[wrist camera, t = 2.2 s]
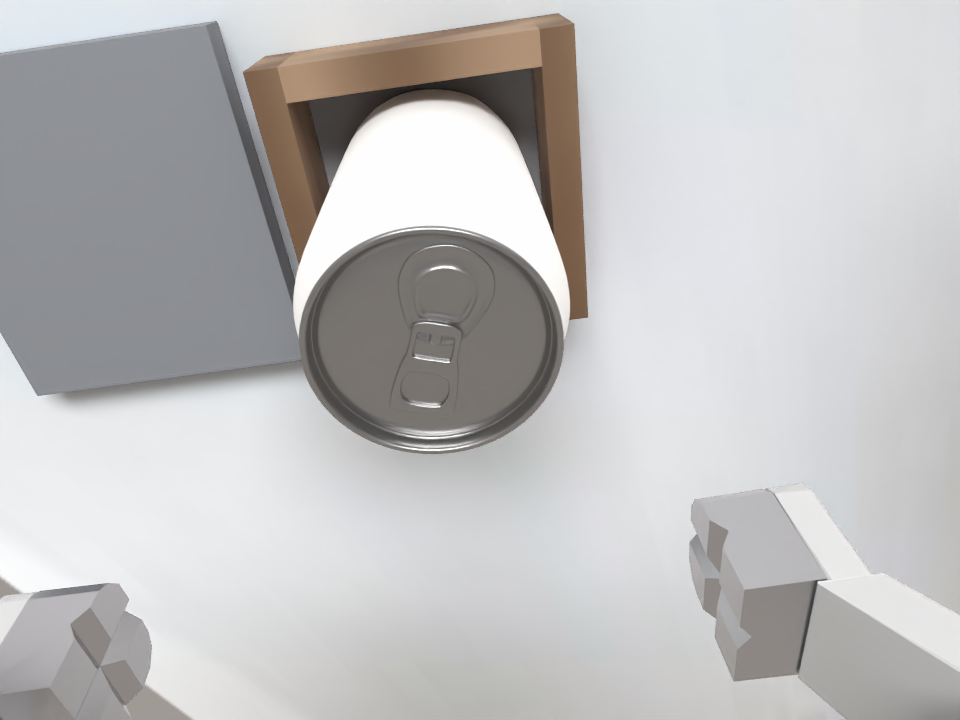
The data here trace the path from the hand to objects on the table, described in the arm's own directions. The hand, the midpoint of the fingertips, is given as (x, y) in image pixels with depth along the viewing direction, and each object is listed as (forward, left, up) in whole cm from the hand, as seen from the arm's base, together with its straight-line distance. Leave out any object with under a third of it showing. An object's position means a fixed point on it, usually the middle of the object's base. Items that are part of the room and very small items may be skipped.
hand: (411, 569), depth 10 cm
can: (0, 0, -18) cm, 18 cm away
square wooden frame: (0, 0, -18) cm, 18 cm away
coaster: (+11, 0, -18) cm, 21 cm away
